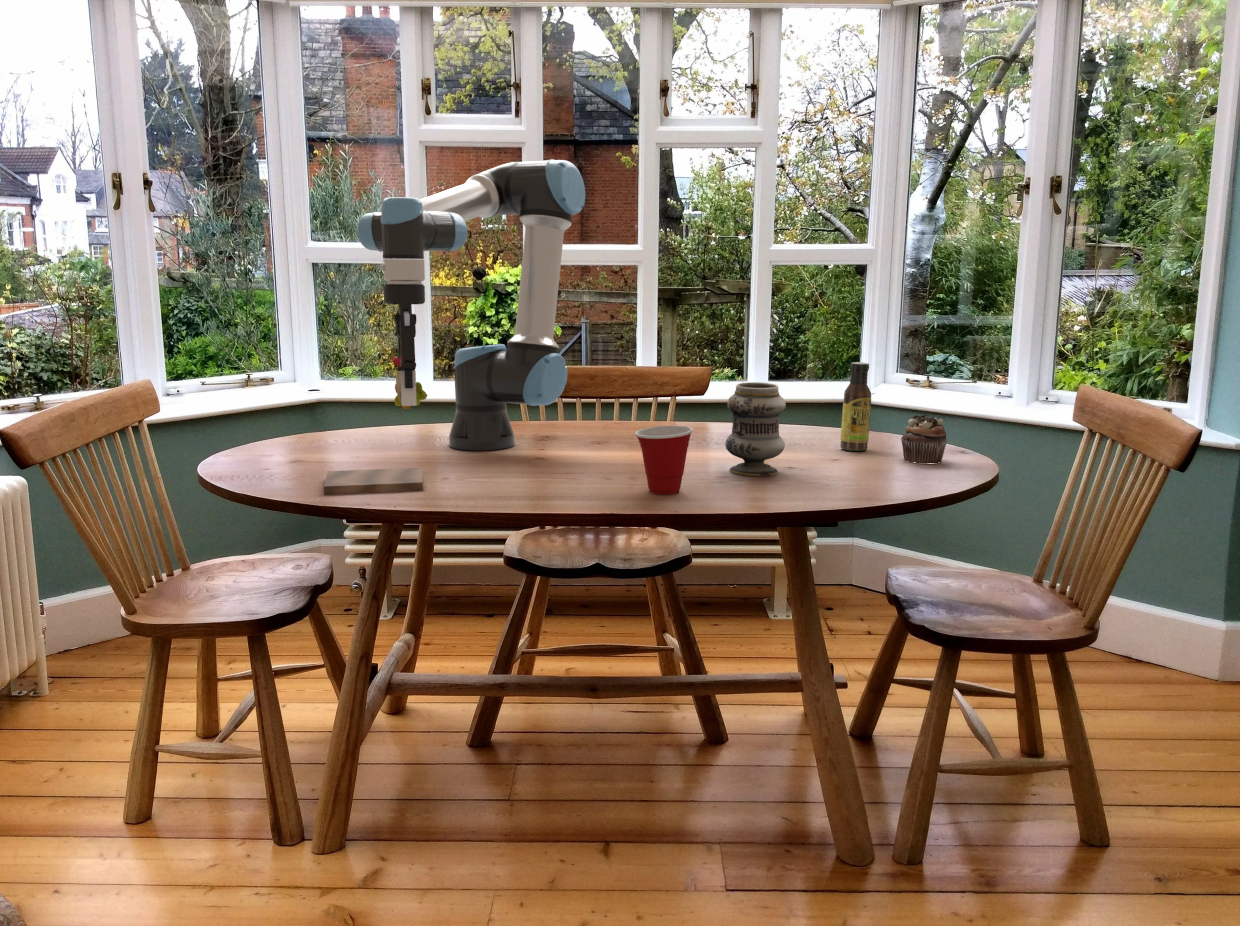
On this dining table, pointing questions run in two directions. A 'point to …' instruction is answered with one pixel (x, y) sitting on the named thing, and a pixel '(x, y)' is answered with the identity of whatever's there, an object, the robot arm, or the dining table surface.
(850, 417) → the sauce bottle
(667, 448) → the plastic cup
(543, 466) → the dining table surface
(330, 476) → the walnut board
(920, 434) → the cupcake
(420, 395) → the bird rattle
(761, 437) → the apothecary jar
